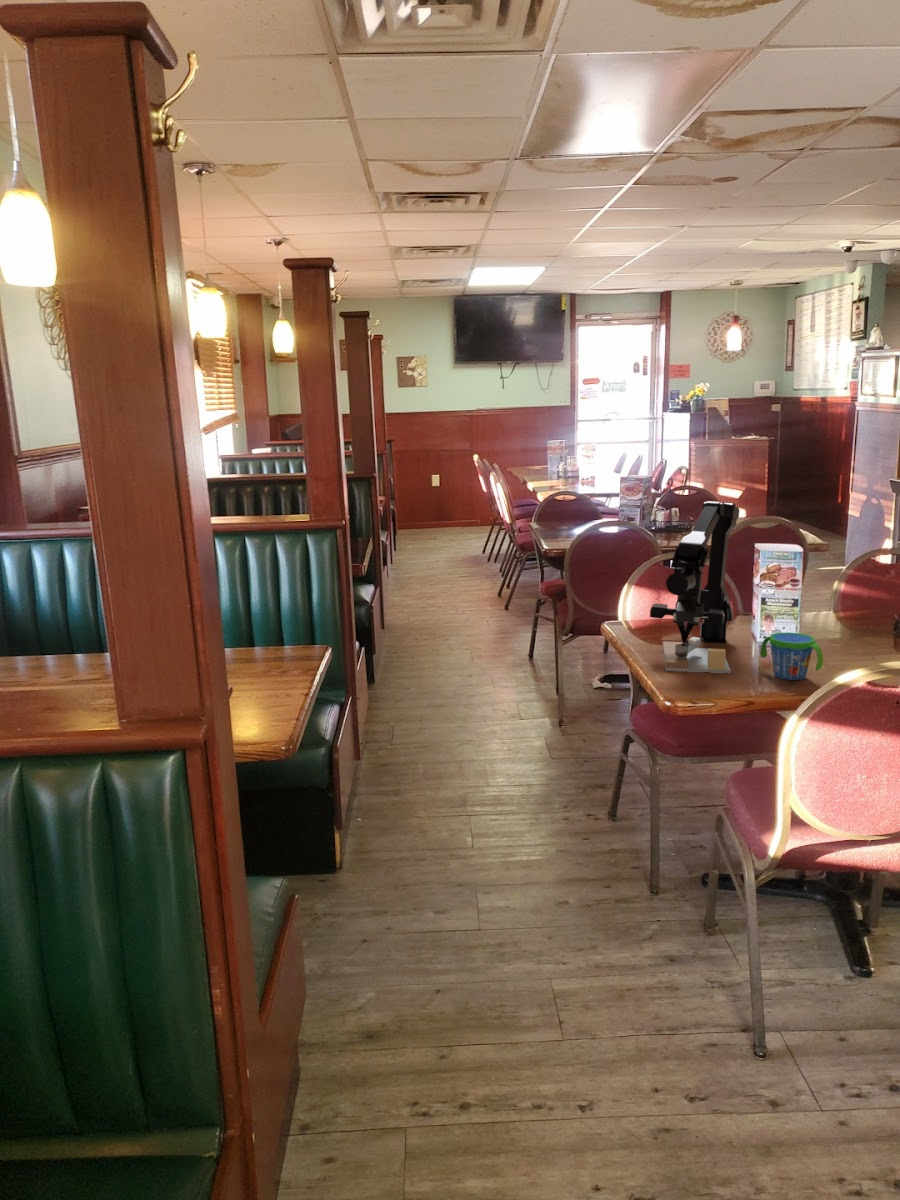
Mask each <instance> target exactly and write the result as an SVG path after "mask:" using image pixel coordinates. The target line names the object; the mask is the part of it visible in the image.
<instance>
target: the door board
mask: <svg viewBox="0 0 900 1200" xmlns="http://www.w3.org/2000/svg"><path fill="white" fill-rule="evenodd" d="M682 643H683V642H682V641H681V642H680V641H677V642H676V641H662V647H661V648H662V655H663V656H662V657H663V662H664V663H663V664H664V669H665V672H682V671H683V672H685V671H687V672H688V673H703V672H711V673H710V674H724V673H728V674H729V675H731V674H732V670H731V668H730V665H729V663H728V660H727V657H726V653H727V652H726V649H725V648H709V647H708V648H704V647H703V648H702V647H700V648H698V647H697V648H695V649H694V650H692V651H691V652H690V653H688V656H676V655H675V645H676V644H682ZM687 672H686V673H687ZM730 673H731V674H730ZM728 674H727V675H728Z"/></svg>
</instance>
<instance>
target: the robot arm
mask: <svg viewBox="0 0 900 1200" xmlns="http://www.w3.org/2000/svg"><path fill="white" fill-rule="evenodd" d="M739 516H740V508H739V506H737V505H736V503H735V502H723V501H722V502H721V501H714V500H712V501H710V500H707V501H704V502H703V504H702V510H701V512H700V514H699V517H698V519H697V520H696V523H695V524H694V527H693V528H692V530H691V532H690V533H689V534H687V535H685V536H683V537H682V538H681V540H680V541H679V543H678V544H677V545H676V548H675V551H674V555H673V558H672V561H671V565H670V568H671V569H674V570H673V573H671V574H670V575H669V576H668V577H667V579H666V581H665V585H666V589H667V590H668V591H669V593H671V594H672V595H675V596H677V600H676V602H675V608H670V607H669V606H668V604H667V603H658V602H657V603H656V602H655V603H654V604H652V606H651V607H650V611H649V618H652V619H654V618H655V619H660V620H661V619H663V618H664V617H666V616H672V618H673V619H672V623H673V624H676V625H677V627H678V630H679V632H680V633H679V634H680V637H681V642H683V643H684V642H685V641H687V640H688V639H689V636H690V634H691V631H692V630H693V629H694V627H695V626H699V625H700V632H699V633H700V634H699V636H700V638H701V639H702V641H703V642H713V643H715V642H716V643H727V638H726V637H727V623H728V622H732V621H733V616H734V614H733V612H734V611H733V608H732V606H731V602H730V601H729V600H730V595H729V592H728V590H727V588H726V586H725V578H726V568H727V558H728V548H729V539H730V538H729V537H730V533H732V531H733V530H734V529H735V527H736V526H737V520H738V519H739ZM710 538H711V540H710ZM709 540H710V541H711V542H710V548H709V546H708V541H709ZM709 549H710V551H709ZM708 559H709V561H708ZM707 562H708V571H707V581H706V582H707V583H706V585H705V586H704V587H703V589H702V580H703V571H704V568H705V567H706V564H707ZM701 620H702V621H701Z"/></svg>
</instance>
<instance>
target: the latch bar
mask: <svg viewBox="0 0 900 1200" xmlns="http://www.w3.org/2000/svg"><path fill="white" fill-rule="evenodd" d="M701 639H702V638H701V637H697V636H691V637H690V638H687V640H686V641H685V642H684V643H682V644H676V645H675V655H676V656H688V653H690V652H691V651H692V650H694V649H695V648H698V647H699V646H701Z"/></svg>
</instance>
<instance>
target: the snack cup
mask: <svg viewBox="0 0 900 1200" xmlns="http://www.w3.org/2000/svg"><path fill="white" fill-rule="evenodd" d="M768 643H769V644H770V646H771V648H770V650H771V658H772V660H771V661H772V671H773V674H774V677H776V678H778V679H783V680H788V681H798V680H804V679H805V678H806V676H807V674H808V671H809V666H810V662H811V658H812V653H813V650H814V651H815V652H816V658H817V661H816V665H815V668H814V669H815V671H819V670H821V669H822V668H823V664H824V656H823V652H822V651H823V650H822V649H821V647H820V646H819V644H817V643H816V638H815V637H813V636H811V635H809V634H805V633H800V632H776V633H772V634H770V635H769V636H766V637H765V638H764V639H763V641H762V643H761V647H760V652H759V653H760V657H761V658H762V659H764V658H765V659H766V657H767V656H768V651H767V644H768Z"/></svg>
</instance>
